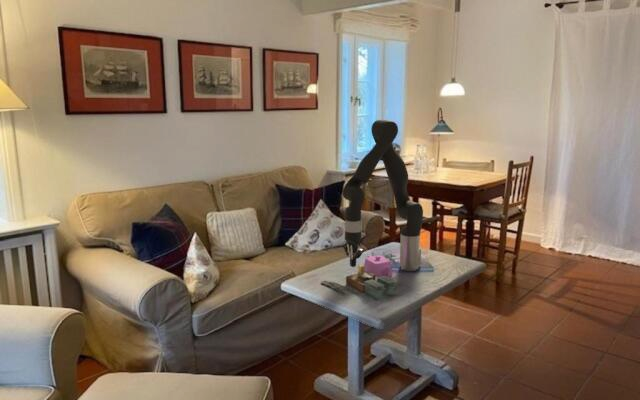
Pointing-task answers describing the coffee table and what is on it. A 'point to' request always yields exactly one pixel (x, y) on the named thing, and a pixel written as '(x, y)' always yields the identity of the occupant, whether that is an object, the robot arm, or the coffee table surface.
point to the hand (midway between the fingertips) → (352, 266)
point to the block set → (373, 286)
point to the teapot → (378, 266)
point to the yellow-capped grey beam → (362, 272)
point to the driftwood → (338, 287)
